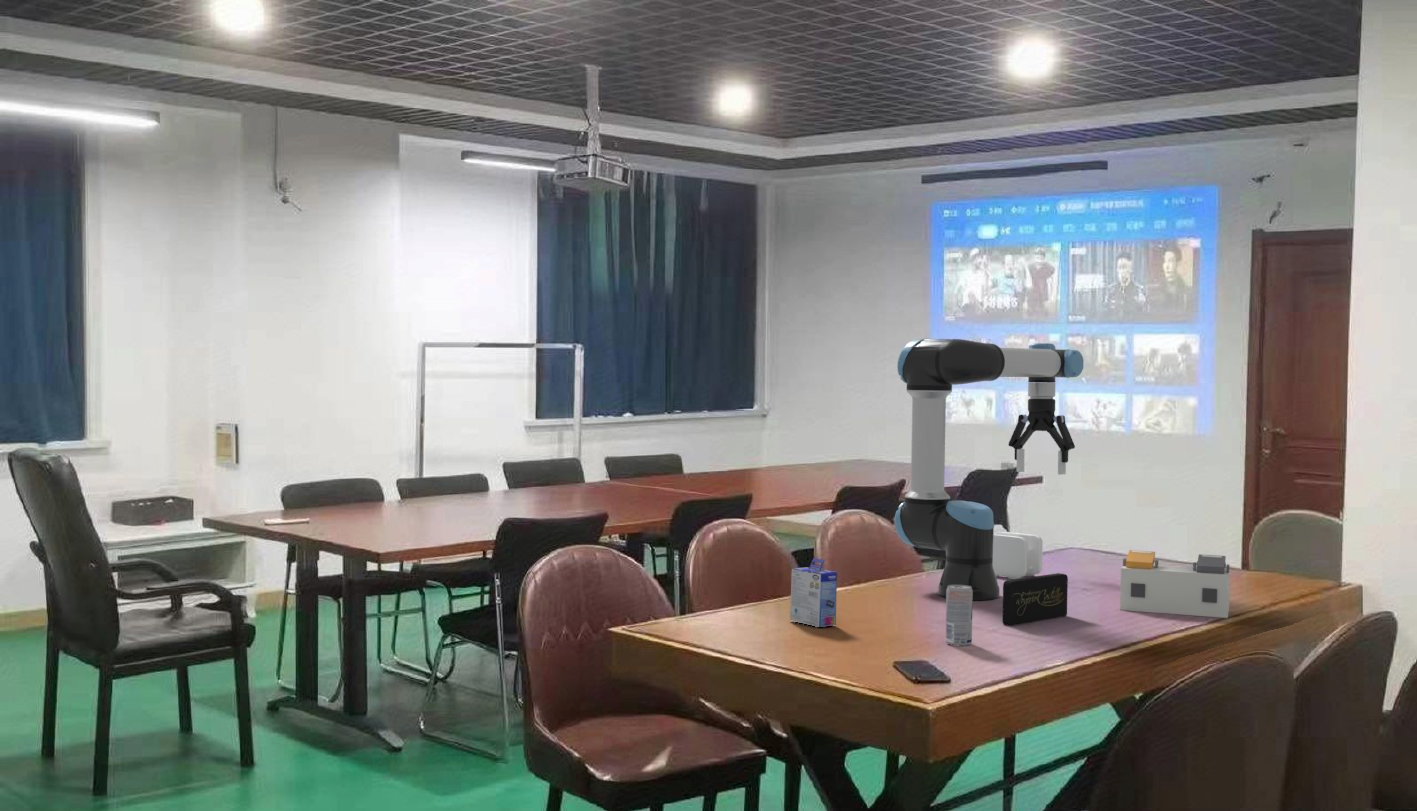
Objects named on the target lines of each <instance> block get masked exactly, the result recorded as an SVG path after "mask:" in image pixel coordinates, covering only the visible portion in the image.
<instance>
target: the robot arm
mask: <svg viewBox="0 0 1417 811" xmlns="http://www.w3.org/2000/svg"><path fill="white" fill-rule="evenodd" d="M897 359H898V360H897V364H896V365H897V366H896V367H897V374H898V375H899V376H900V377H899V378H900V380H901V381H902V383H903V382H904V383H905V384H906V392H907V393H908V394H909V396H911V398H912V399H911V402H912V404H911V407H912V408H911V455H910V456H911V458H910V459H911V460H910V465H911V466H910V468H911V469H910V489H909V491H908V492H907V493H906V494H904V501H903V502H901V503H900V504H899V506H898V507H897V510H896V511H895V514H894V526H895V530H896V533H897V535H898V537H899V538H900V539H901V540H902V541H903V543H905V544H906V545H907V546H912V547H915V548H917V549H918V548H919V549H931V550H938V551H945V566H944V568H943V572H942V575H941V578H940V581H939V583H938V590H937V592H938V596H940V597H944V598H946V590H947V588H948V585H967V586H971V587H972V591H973V598H972V601H985V600H986V601H987V600H988V601H989V600H994V599H995V600H996V599H998V598H1000V587H999V584H998V579H997V577H996V575H995V572H994V569H993V534H994V528H995V522H994V512H993V510H992V508H990V507H989V506H988V505H986V504H983V503H979V502H975V501H968V500H967V501H966V500H957V499H955V500H951V496H950V495H949V494H948V493H947V492H946V490H945V467H946V466H945V464H946V463H945V462H946V460H945V459H946V458H945V457H946V447H945V446H946V412H947V411H946V410H947V409H946V408H947V406H946V404H947V401H946V400H947V397H948V396H949V395H950V394H951V393H952V391H953V385H955V386H956V385H966V384H974V383H979V382H980V383H981V382H992V381H995V380H997V379H999V378H1028V379H1027V380H1028V381H1027V382H1028V383H1027V396H1028V397H1029V398H1028V399H1027V411H1028V415H1027V414H1019V415H1018V419H1017V420H1018V421H1017V423H1016V425H1015V428H1014V431H1013V432H1012V434H1011V437H1010V439H1009V441H1008V446H1009V447H1011V448H1013V449H1014V460H1015V461H1016V472H1017V473H1022V472H1023V473H1024V472H1025V448H1024V446H1025V444H1026V443H1027V442H1028V440H1029V439H1030V437H1031V436H1032V435H1033V434H1034V433H1035V432H1036V431H1037V432H1047V434H1049V435H1050V437H1051V438H1052V439H1053V440H1054V442H1055V444H1056V445H1057V446H1058V448H1059V450H1058V451H1057V475H1061V476H1062V475H1066V471H1067V470H1066V467H1067V466H1066V465H1067V463H1068V462H1069V451H1071V450H1072V449H1073V450H1074V449H1075V448H1076V446H1075V442H1074V441H1073V439H1072V435H1071V433H1070V431H1069V429H1068V426H1067V424H1066V417H1065V415H1063V414H1061V415H1055V413H1056V412H1055V411H1056V400H1055V399H1054V397H1055V396H1056V378H1066V379H1070V378H1078V377H1079V376H1080V375H1081V374H1082V372H1083V370H1084V367H1085V366H1084V361H1085V360H1084V357H1083V355H1082V353H1081V352H1080V351H1079V350H1077V349H1069V348H1068V349H1057V348H1056V345H1055V344H1054V343H1047V342H1045V343H1042V342H1041V343H1040V342H1039V343H1036V342H1035V343H1033V342H1032V343H1030V344H1029V345H1028V348H1020V347H1016V348H1014V347H1000V346H999V345H997V344H995V343H988V342H987V343H986V342H979V341H974V340H968V339H961V338H947V339H945V338H937V339H936V338H922V339H915V340H911V341H909V342H908V343H907V344H906V345H904V347H903V348H902V349H901V351H900V353H899V355H898V358H897ZM1027 422H1028V425H1027V426H1026V424H1027ZM1055 423H1056V425H1057V427H1056V425H1055ZM1057 428H1058V430H1059V431H1058V430H1057ZM1024 429H1025V430H1024Z"/></svg>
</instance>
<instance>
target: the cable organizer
mask: <svg viewBox="0 0 1417 811" xmlns="http://www.w3.org/2000/svg"><path fill="white" fill-rule="evenodd" d="M1043 543H1044V542H1043V539H1042V538H1041V537H1040V536H1039V535H1037V534H1030V533H1021V532H1012V531H998V532H995V533H993V569H994V572H995V575H996V578H997V577H1000V576H1001V577H1007V579H1008V580H1014V579H1021V578H1025V576H1028V577H1035V576H1036V575H1038V574H1040V573H1041V572H1042V570H1043V549H1044V548H1043V546H1044V545H1043Z"/></svg>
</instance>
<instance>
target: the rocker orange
mask: <svg viewBox="0 0 1417 811" xmlns="http://www.w3.org/2000/svg"><path fill="white" fill-rule="evenodd" d="M1155 560H1156V551H1153V550H1151V551H1150V550H1149V551H1148V550H1133V549H1128V554H1127V556H1126V567H1128V568H1143V569H1152V568H1153V564H1154V565H1155Z"/></svg>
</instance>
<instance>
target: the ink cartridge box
mask: <svg viewBox="0 0 1417 811" xmlns="http://www.w3.org/2000/svg"><path fill="white" fill-rule="evenodd" d="M825 561H826V560H825V559H821V558H816V557H813V559H812V561H811V562H810V565H809V567H807V566H806V567H795V568H792V569H791V579H790V581H791V582H790V584H791V585H790V587H791V588H790V608H789V609H790V611H789V613H790V614H789V621H790V620H793V621H797V622H800V623H804V624H808V625H812V626H815V627H814V628H817V627H823V628H827V627H826V626H832V627H834V626H833V625H836V624H837V589H838V588H837V587H838V572H837V571H833V570H827V569H823V566H824V563H825ZM817 562H818V563H820V565H818V564H815V563H817ZM804 624H803V625H804ZM808 625H807V626H808ZM812 626H811V627H812ZM836 626H837V625H836Z"/></svg>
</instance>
